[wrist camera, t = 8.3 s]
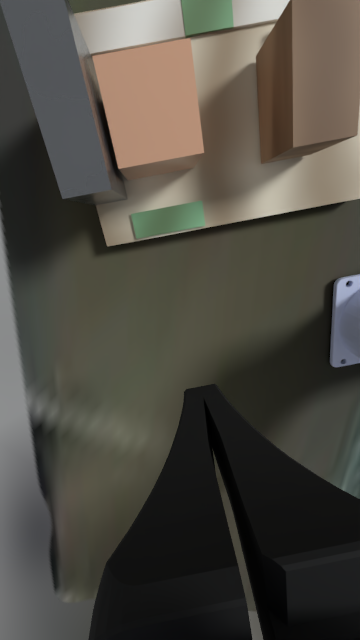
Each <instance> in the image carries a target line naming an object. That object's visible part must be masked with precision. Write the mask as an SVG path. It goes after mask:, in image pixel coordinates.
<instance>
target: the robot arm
mask: <svg viewBox="0 0 360 640" xmlns="http://www.w3.org/2000/svg"><path fill="white" fill-rule="evenodd" d="M348 281H349V284H348V285H347V286H346V283H347V282H348ZM341 360H343V361H341ZM357 363H360V274H357V275H352V276H347V277H342V278H338V279H337V280H336V281H335V282H334V289H333V309H332V328H331V348H330V364H331V365H332V366H333V367H342V366H347V365H352V364H357ZM212 448H213V450H212ZM213 451H214V454H215V457H216V460H217V463H218V466H219V470H220V473H221V476H222V479H223V482H224V485H225V488H226V491H227V494H228V497H229V500H230V503H231V507H232V510H233V514H234V518H235V522H236V526H237V530H238V534H239V538H240V542H241V547H242V551H243V555H244V559H245V563H246V567H247V572H248V576H249V580H250V584H251V588H252V593H253V597H254V601H255V605H256V610H257V614H258V618H259V622H260V626H261V631H262V635H263V639H264V640H360V499H358V498H356V497H354V496H352V495H350V494H349V493H347V492H345V491H343V490H341V489H339V488H337V487H336V486H334V485H332V484H331V483H329V482H327V481H326V480H324V479H322V478H321V477H319V476H317V475H316V474H314V473H313V472H311V471H310V470H308V469H307V468H305V467H304V466H302V465H301V464H299V463H298V462H296V461H295V460H293V459H292V458H291V457H289V456H288V455H287V454H285V453H284V452H283V451H281V450H280V449H279V448H277V447H276V446H275V445H274V444H272V443H271V442H270V441H269V440H267V439H266V438H265V437H264V436H263V435H262V434H260V433H259V432H258V431H257V430H256V429H255V428H254V427H253V426H252V425H251V424H250V423H249V422H248V421H247V420H246V419H245V418H244V417H243V416H242V415H241V414H240V413H239V412H238V411H237V410H236V409H235V408H234V407H233V406H232V404H231V403H230V402H229V401H228V400H227V398H226V397H225V396H224V395H223V393H222V392H221V391H220V389H219V388H218V386H217V385H215V384H211V385H206V386H201V387H196V388H191V389H186V390H185V392H184V403H183V409H182V414H181V418H180V422H179V426H178V429H177V432H176V435H175V438H174V441H173V444H172V447H171V450H170V453H169V455H168V458H167V460H166V462H165V465H164V467H163V469H162V471H161V473H160V475H159V478H158V480H157V482H156V484H155V486H154V488H153V490H152V492H151V493H150V495H149V497H148V499H147V501H146V502H145V504H144V506H143V507H142V509H141V511H140V513H139V514H138V516H137V518H136V519H135V521H134V523H133V524H132V526H131V527H130V529H129V531H128V532H127V533H126V535H125V536H124V538H123V539H122V541H121V542H120V544H119V545H118V547H117V548H116V550H115V551H114V553H113V554H112V555H111V557H110V558H109V560H108V561H107V563H106V566H105V569H104V572H103V575H102V578H101V582H100V585H99V589H98V593H97V597H96V601H95V605H94V609H93V615H92V621H91V628H90V634H89V640H252V634H251V628H250V622H249V615H248V608H247V603H246V598H245V594H244V589H243V585H242V580H241V576H240V572H239V567H238V563H237V559H236V555H235V551H234V547H233V543H232V539H231V535H230V531H229V527H228V523H227V519H226V515H225V511H224V507H223V503H222V498H221V494H220V490H219V486H218V482H217V478H216V473H215V465H214V458H213Z"/></svg>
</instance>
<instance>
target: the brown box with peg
mask: <svg viewBox="0 0 360 640" xmlns="http://www.w3.org/2000/svg"><path fill="white" fill-rule="evenodd" d="M256 72H257V92H258V113H259V133H260V153H261V164H265V163H270V162H275V161H280V160H286V159H291V158H296V157H301V156H307V155H311V154H313V153H316V152H318V151H321V150H323V149H326V148H328V147H330V146H333V145H335V144H338V143H340V142H343V141H345V140H347V139H350V138H352V137H355V136H357V134H358V120H359V106H360V0H290V1H289V2H288V4H287V6H286V7H285V9H284V11H283V12H282V14H281V16H280V17H279V19H278V21H277V22H276V24H275V25H274V27H273V29H272V30H271V32H270V34H269V35H268V37H267V39H266V40H265V42H264V44H263V45H262V47H261V49H260V50H259V52H258V53H257V55H256Z"/></svg>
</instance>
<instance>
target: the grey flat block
mask: <svg viewBox="0 0 360 640" xmlns="http://www.w3.org/2000/svg"><path fill="white" fill-rule="evenodd" d="M0 3H1V7H2V10H3V13H4V16H5V19H6V22H7V25H8V29H9V32H10V35H11V38H12V41H13V44H14V48H15V51H16V54H17V57H18V60H19V63H20V67H21V70H22V73H23V76H24V79H25V82H26V85H27V89H28V92H29V95H30V98H31V101H32V104H33V108H34V111H35V114H36V117H37V120H38V123H39V127H40V130H41V133H42V136H43V139H44V142H45V145H46V149H47V152H48V155H49V158H50V161H51V164H52V168H53V171H54V174H55V177H56V180H57V183H58V187H59V190H60V193H61V196H62V199H65V200H70V201H75V202H81V203H86V204H91V205H101V204H106V203H111V202H116V201H122V200H127V199H128V198H127V193H126V189H125V185H124V180H123V176H122V173H121V171H120V170H119V169H118V165H117V160H116V156H115V152H114V147H113V143H112V139H111V135H110V130H109V126H108V122H107V117H106V113H105V109H104V104H103V100H102V96H101V92H100V87H99V83H98V79H97V74H96V70H95V66H94V61H93V59H92V57H91V54H90V52H89V49H88V47H87V45H86V42H85V40H84V37H83V35H82V33H81V30H80V28H79V25H78V23H77V21H76V18H75V16H74V13H73V11H72V8H71V6H70V4H69V1H68V0H0Z"/></svg>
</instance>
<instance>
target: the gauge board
mask: <svg viewBox="0 0 360 640" xmlns="http://www.w3.org/2000/svg"><path fill="white" fill-rule="evenodd" d="M289 1H290V0H147V1H141V2H136V3H130V4H125V5H119V6H114V7H109V8H103V9H98V10H92V11H87V12H81V13H76V14H74V16H75V18H76V21H77V23H78V25H79V28H80V30H81V33H82V35H83V37H84V40H85V42H86V45H87V47H88V49H89V52H90V54H91V57H92V56H95V55H100V54H106V53H111V52H117V51H122V50H127V49H133V48H138V47H144V46H149V45H154V44H160V43H165V42H171V41H176V40H181V39H187V38H190V39H191V47H192V55H193V64H194V72H195V80H196V89H197V97H198V105H199V114H200V122H201V130H202V139H203V147H204V154H203V155H202V157H201V158H200V159H199V161H198V162H197V164H196V165H195V166H194V168H191V169H186V170H181V171H175V172H170V173H165V174H159V175H154V176H149V177H144V178H138V179H133V180H127V179H126V177H125V176H124V175H123V174H122V176H123V180H124V185H125V189H126V193H127V198H128V199H127V200H122V201H116V202H111V203H106V204H101V205H96V208H97V211H98V215H99V219H100V222H101V226H102V230H103V233H104V237H105V241H106V244H107V247H108V246H114V245H119V244H124V243H129V242H135V241H140V240H145V239H150V238H156V237H161V236H166V235H171V234H176V233H182V232H187V231H192V230H197V229H203V228H208V227H213V226H218V225H224V224H229V223H234V222H239V221H244V220H250V219H255V218H260V217H265V216H271V215H276V214H281V213H286V212H292V211H297V210H302V209H307V208H312V207H318V206H323V205H328V204H333V203H339V202H344V201H349V200H354V199H360V106H359V120H358V134H357V136H355V137H352V138H350V139H347V140H345V141H343V142H340V143H338V144H335V145H333V146H330V147H328V148H326V149H323V150H321V151H318V152H316V153H313V154H311V155H307V156H301V157H296V158H291V159H286V160H280V161H275V162H270V163H265V164H261V153H260V133H259V113H258V92H257V72H256V55H257V53H258V52H259V50H260V49H261V47H262V45H263V44H264V42H265V40H266V39H267V37H268V35H269V34H270V32H271V30H272V29H273V27H274V25H275V24H276V22H277V21H278V19H279V17H280V16H281V14H282V12H283V11H284V9H285V7H286V6H287V4H288V2H289ZM92 59H93V57H92Z"/></svg>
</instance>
